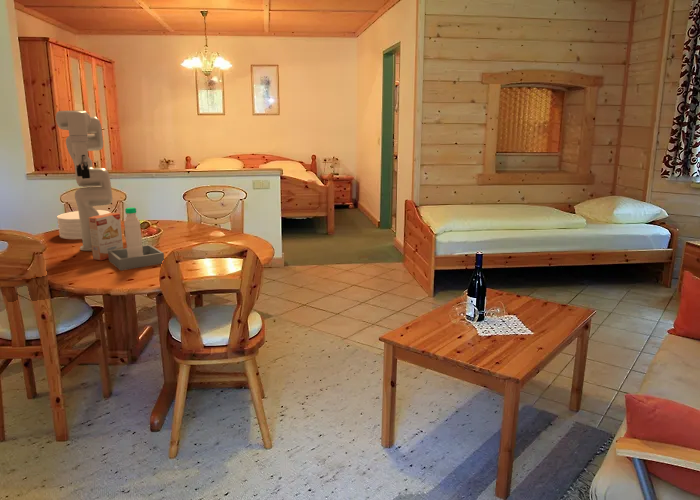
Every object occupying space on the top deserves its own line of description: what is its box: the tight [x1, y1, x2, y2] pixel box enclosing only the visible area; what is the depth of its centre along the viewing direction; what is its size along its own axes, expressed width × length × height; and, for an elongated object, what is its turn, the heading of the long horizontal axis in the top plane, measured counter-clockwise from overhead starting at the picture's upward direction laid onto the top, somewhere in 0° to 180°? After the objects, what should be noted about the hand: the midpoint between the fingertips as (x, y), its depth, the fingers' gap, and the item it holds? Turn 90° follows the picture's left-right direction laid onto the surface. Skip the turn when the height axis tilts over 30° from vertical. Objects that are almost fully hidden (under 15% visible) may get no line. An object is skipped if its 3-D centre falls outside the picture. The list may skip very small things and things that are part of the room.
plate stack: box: [56, 209, 111, 240], centre depth 330 cm, size 28×28×12 cm
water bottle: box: [123, 206, 143, 258], centre depth 268 cm, size 7×7×25 cm
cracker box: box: [89, 212, 124, 261], centre depth 278 cm, size 14×6×21 cm, turn 153°
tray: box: [108, 244, 165, 271], centre depth 270 cm, size 20×20×5 cm
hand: (83, 177), depth 262 cm, fingers open, 9 cm apart
